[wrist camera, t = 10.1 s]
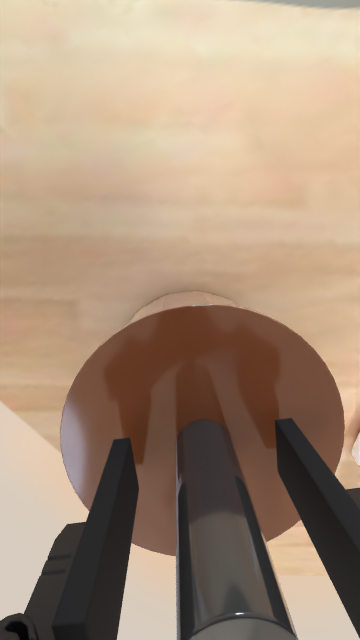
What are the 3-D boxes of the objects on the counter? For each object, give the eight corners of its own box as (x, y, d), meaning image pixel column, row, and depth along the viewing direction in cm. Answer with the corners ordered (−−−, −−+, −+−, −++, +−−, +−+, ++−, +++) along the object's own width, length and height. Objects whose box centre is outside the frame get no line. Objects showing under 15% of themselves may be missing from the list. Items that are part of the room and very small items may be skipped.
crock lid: (42, 318, 13) (-192, 424, 5) (330, 283, 13) (615, 326, 5) (95, 549, 16) (9, 871, 8) (331, 521, 16) (508, 812, 8)
